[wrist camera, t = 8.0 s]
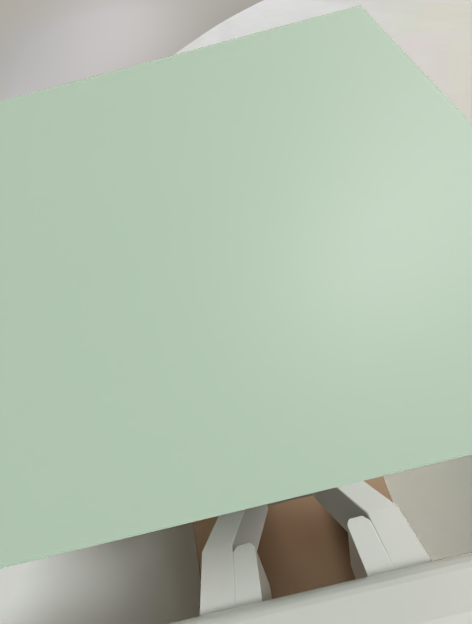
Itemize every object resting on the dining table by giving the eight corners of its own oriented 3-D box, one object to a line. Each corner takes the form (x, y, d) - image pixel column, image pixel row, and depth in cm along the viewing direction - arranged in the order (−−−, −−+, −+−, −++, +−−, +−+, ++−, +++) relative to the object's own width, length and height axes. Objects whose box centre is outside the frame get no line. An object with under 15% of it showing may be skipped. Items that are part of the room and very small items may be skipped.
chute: (453, 733, 11) (537, 877, 7) (252, 779, 11) (247, 940, 8) (273, 230, 21) (275, 198, 18) (171, 256, 21) (155, 229, 18)
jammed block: (315, 405, 15) (722, 394, 2) (217, 429, 15) (-119, 597, 2) (285, 314, 17) (360, 5, 4) (200, 335, 17) (-2, 101, 4)
